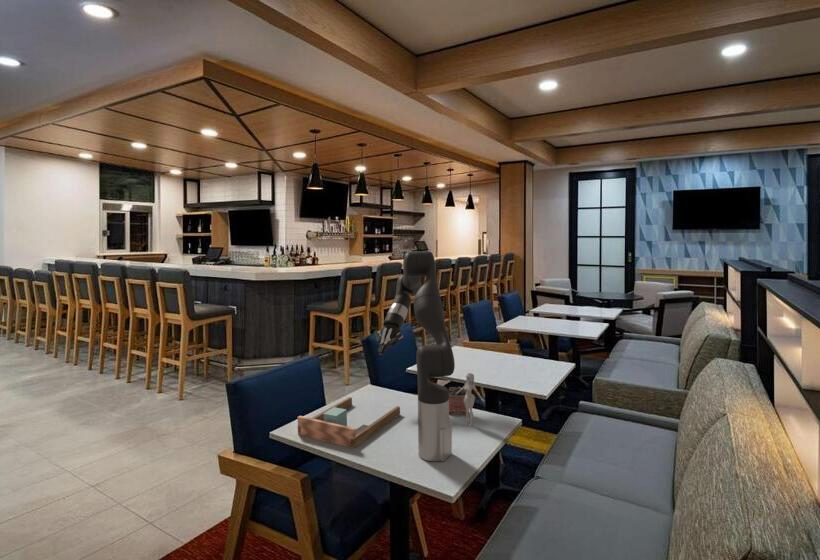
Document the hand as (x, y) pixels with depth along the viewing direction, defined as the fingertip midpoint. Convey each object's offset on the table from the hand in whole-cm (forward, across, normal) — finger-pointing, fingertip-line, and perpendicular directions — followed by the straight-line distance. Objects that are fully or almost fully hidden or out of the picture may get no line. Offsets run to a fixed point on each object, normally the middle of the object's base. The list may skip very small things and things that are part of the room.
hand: (380, 354), depth 178 cm
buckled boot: (+11, +30, +17) cm, 36 cm away
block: (+35, 0, -7) cm, 36 cm away
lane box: (+29, 0, -1) cm, 29 cm away
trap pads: (+31, 0, -3) cm, 31 cm away
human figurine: (+16, +37, +12) cm, 42 cm away
